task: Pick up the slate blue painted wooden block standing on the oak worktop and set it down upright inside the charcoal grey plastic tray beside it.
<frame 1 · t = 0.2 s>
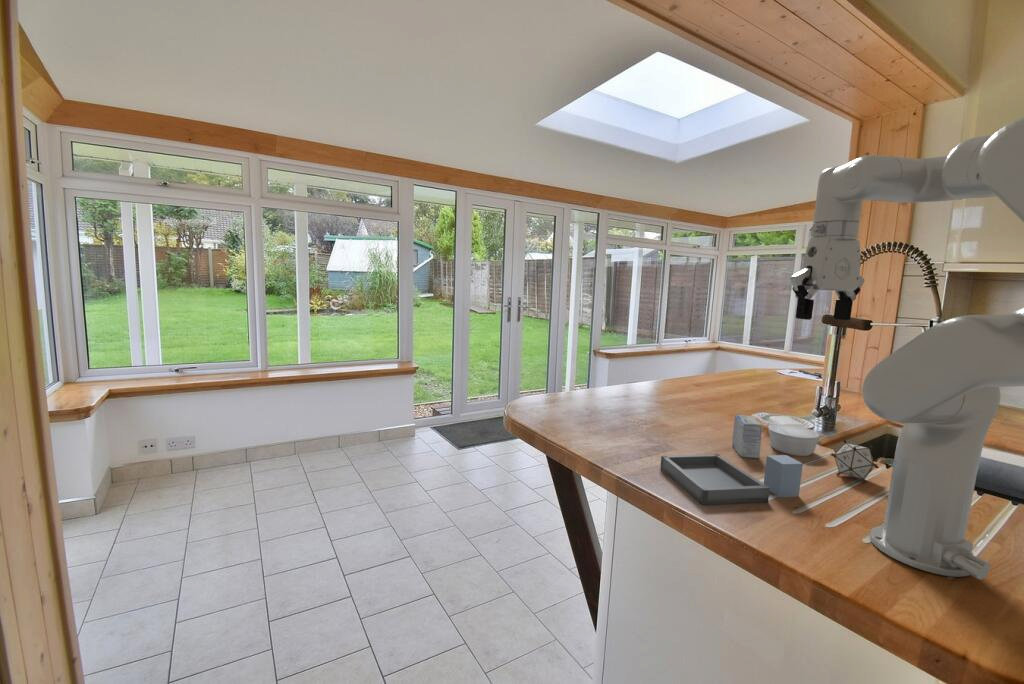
hand: (822, 319, 92), 36 cm above the table, tool pointing down, fingers open, 9 cm apart
medicine box: (744, 453, 115), on the table
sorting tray: (710, 484, 96), on the table
slate block: (780, 491, 94), on the table
game die: (851, 478, 102), on the table
ramekin: (790, 450, 119), on the table
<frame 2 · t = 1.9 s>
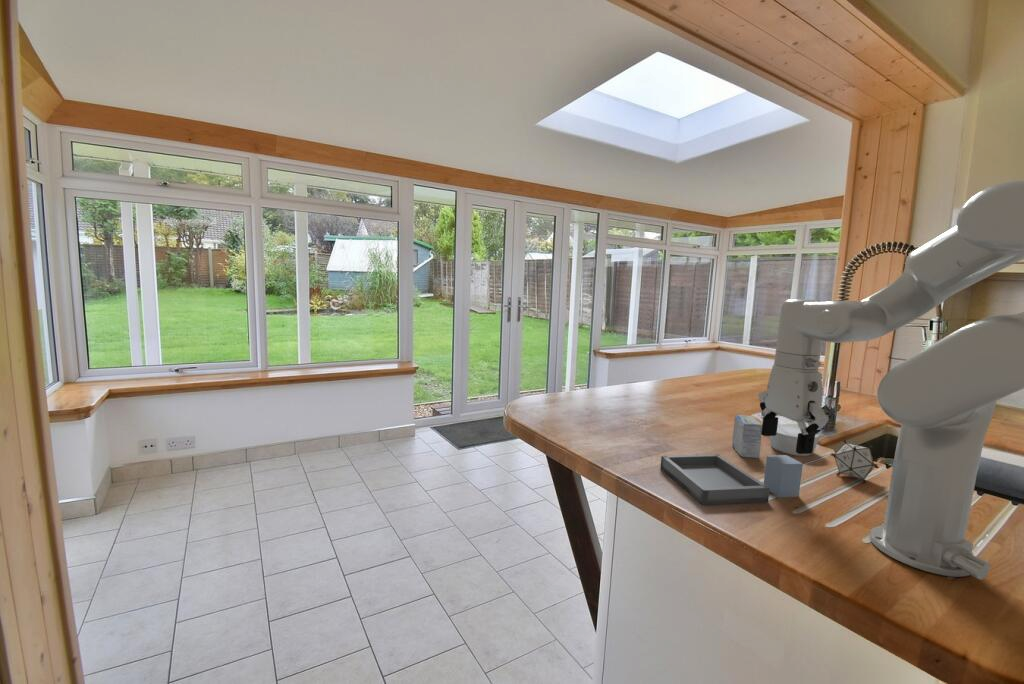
hand: (785, 443, 93), 10 cm above the table, tool pointing down, fingers open, 9 cm apart
nothing on the table moved.
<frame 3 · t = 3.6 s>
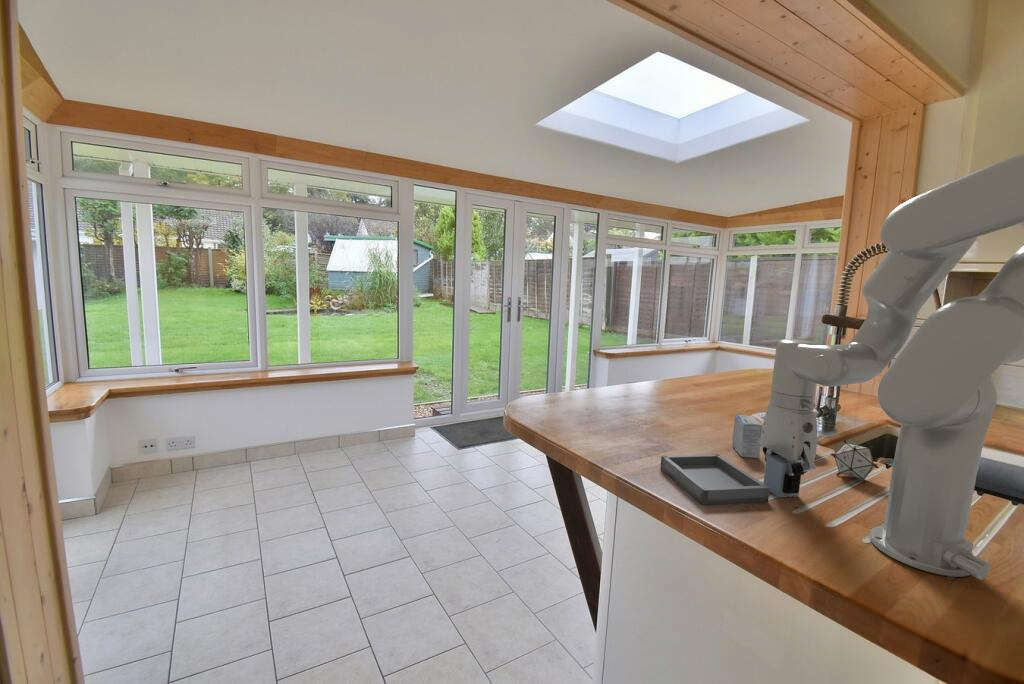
hand: (781, 485, 94), 1 cm above the table, tool pointing down, fingers closed on slate block, 4 cm apart
slate block: (780, 491, 94), on the table, touching gripper
everything else where it was.
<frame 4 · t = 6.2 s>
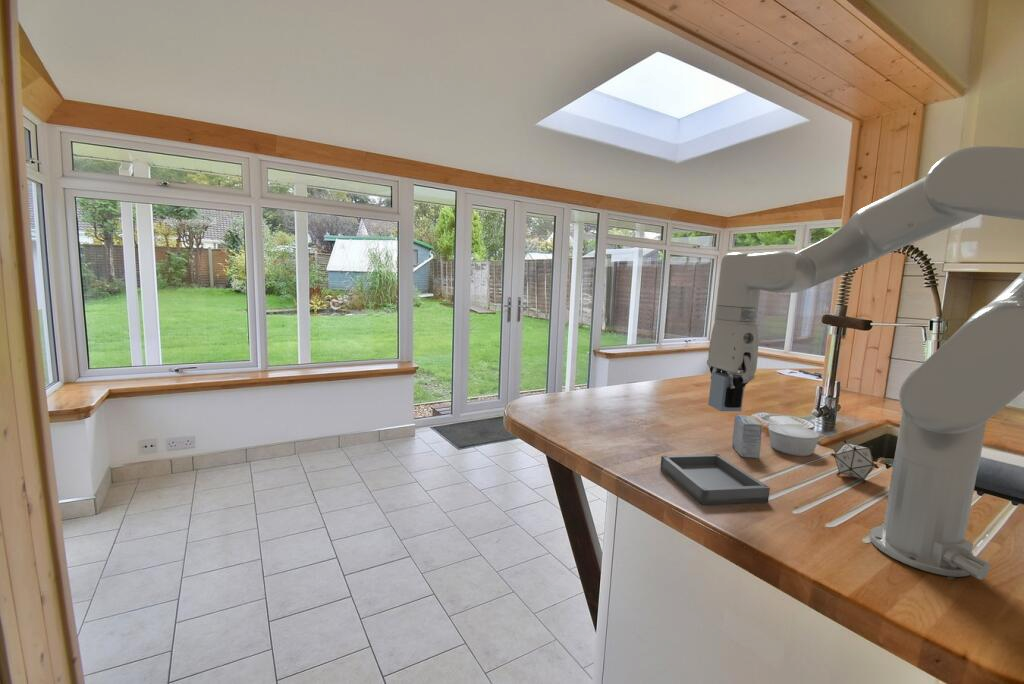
hand: (724, 402, 94), 18 cm above the table, tool pointing down, fingers closed on slate block, 4 cm apart
slate block: (724, 408, 94), point 17 cm above the table, touching gripper
everything else where it was.
when the fingers open (4 cm above the table, at t = 9.3 s): slate block drops 1 cm, resting on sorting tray.
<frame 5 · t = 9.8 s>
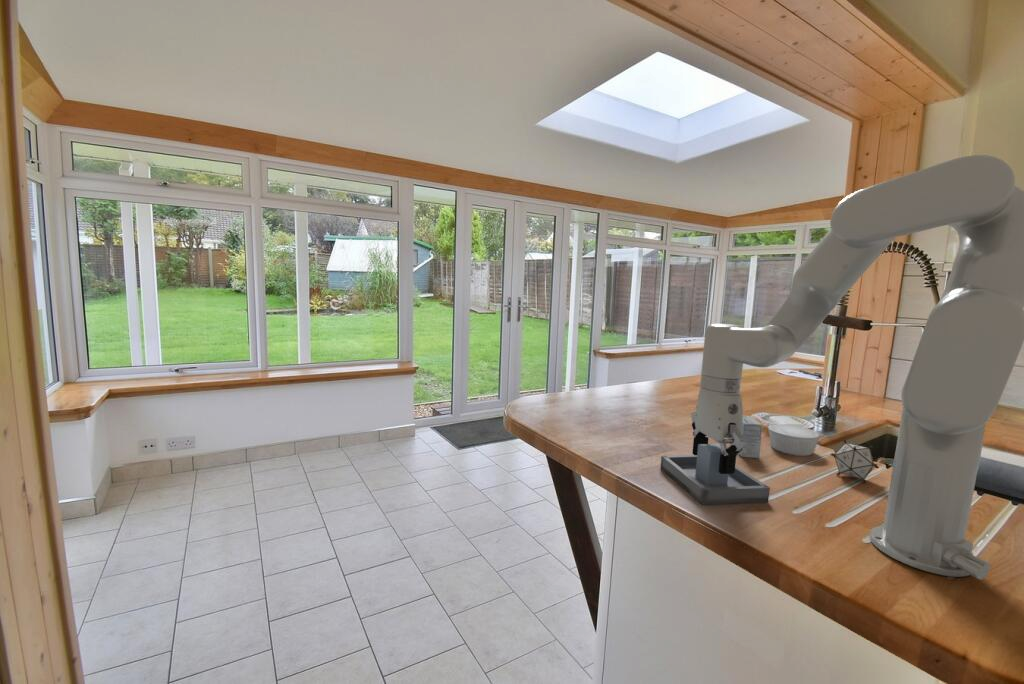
hand: (712, 463, 96), 5 cm above the table, tool pointing down, fingers open, 9 cm apart
slate block: (711, 479, 96), point 1 cm above the table, touching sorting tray
everything else where it was.
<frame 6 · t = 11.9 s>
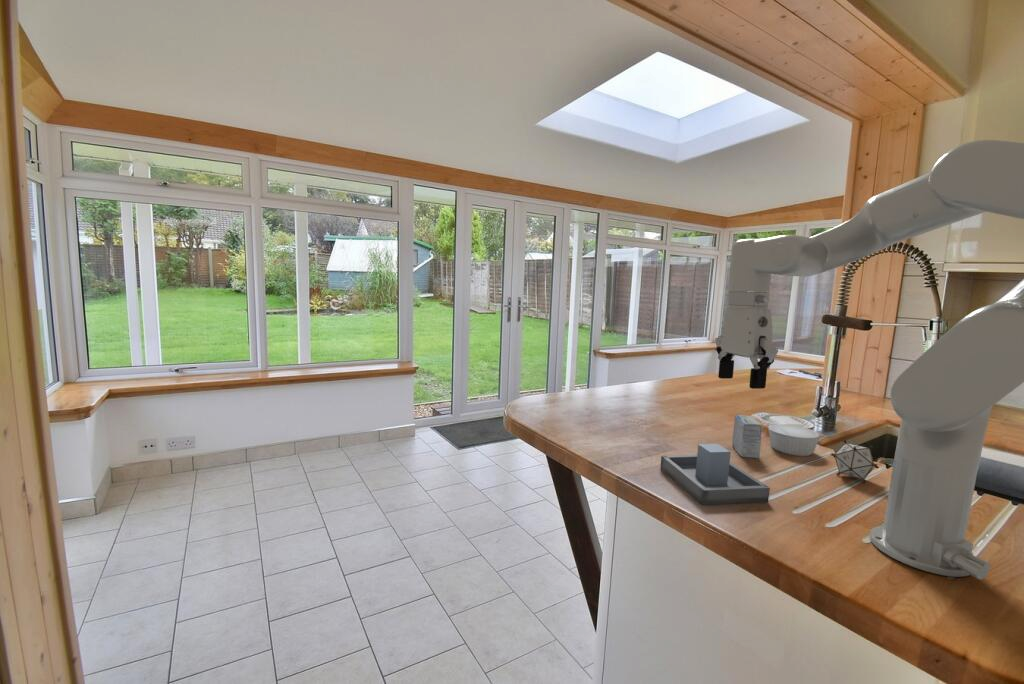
hand: (740, 383, 95), 22 cm above the table, tool pointing down, fingers open, 9 cm apart
nothing on the table moved.
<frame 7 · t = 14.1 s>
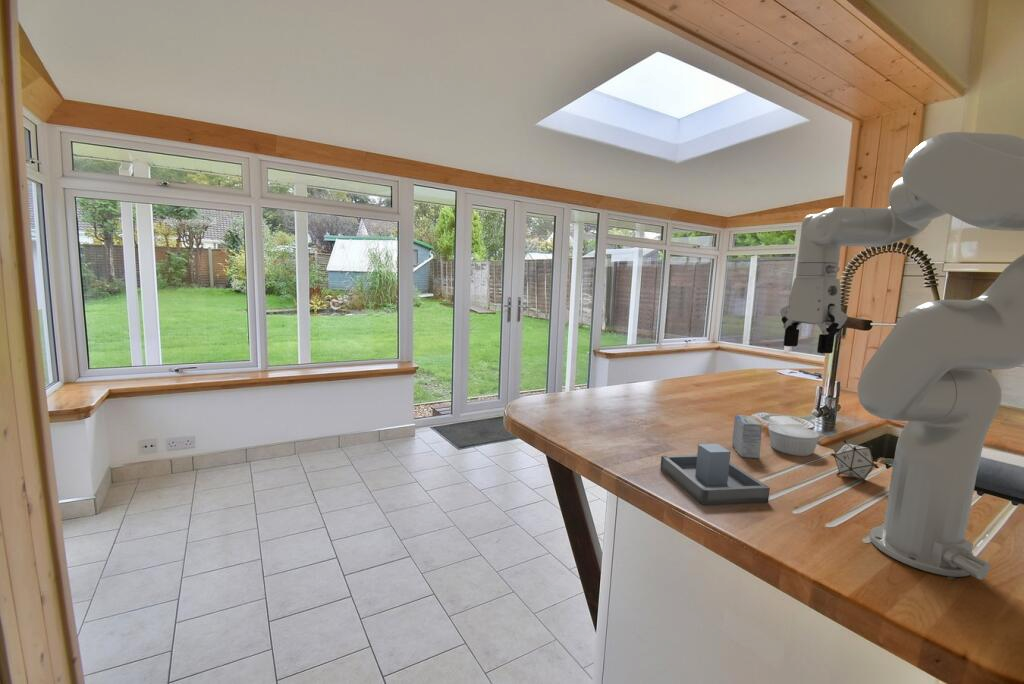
hand: (806, 349, 101), 28 cm above the table, tool pointing down, fingers open, 9 cm apart
nothing on the table moved.
at the end: slate block inside the target area on the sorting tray (0.0 cm from its centre), point 1.0 cm above the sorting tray's base; slate block tilted 0°; the gripper is holding nothing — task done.
